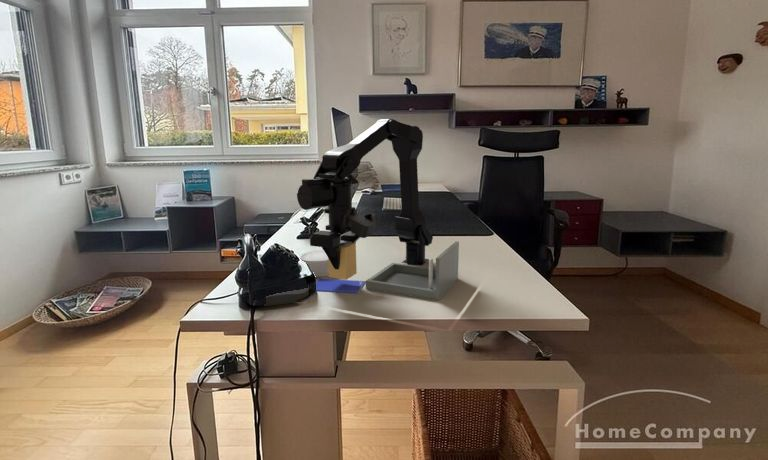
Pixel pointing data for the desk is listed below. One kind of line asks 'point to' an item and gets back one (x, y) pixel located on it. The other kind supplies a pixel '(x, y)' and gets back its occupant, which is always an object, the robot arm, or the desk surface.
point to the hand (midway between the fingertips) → (342, 266)
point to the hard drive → (339, 286)
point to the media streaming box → (286, 297)
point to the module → (345, 262)
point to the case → (419, 276)
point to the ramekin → (317, 262)
